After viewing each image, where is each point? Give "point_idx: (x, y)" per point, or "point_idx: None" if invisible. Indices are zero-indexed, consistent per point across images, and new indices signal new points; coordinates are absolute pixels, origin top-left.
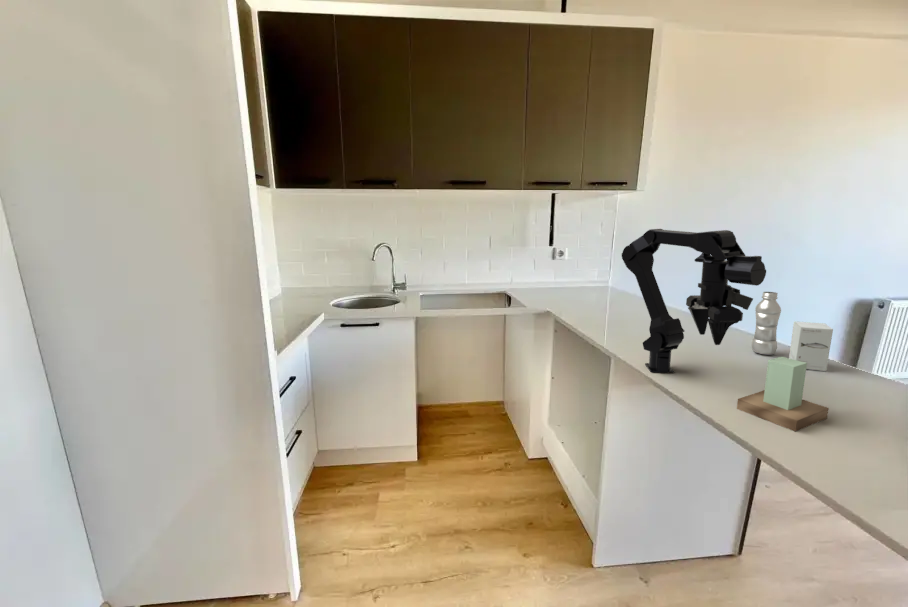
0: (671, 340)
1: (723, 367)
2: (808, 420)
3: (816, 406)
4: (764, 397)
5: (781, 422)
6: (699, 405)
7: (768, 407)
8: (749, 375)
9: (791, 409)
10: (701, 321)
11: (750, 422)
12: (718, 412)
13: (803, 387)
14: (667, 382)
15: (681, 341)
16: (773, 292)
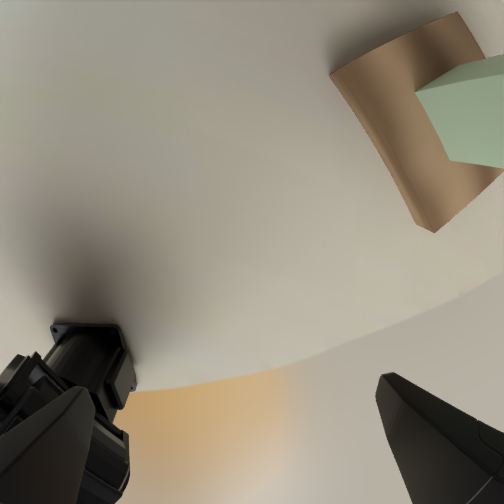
0: (108, 453)
1: (25, 126)
2: None
3: (456, 31)
4: (461, 160)
5: None
6: (390, 318)
7: (481, 172)
8: (96, 52)
9: None
10: (51, 493)
11: (476, 225)
12: (430, 282)
13: (498, 55)
14: (216, 365)
15: (47, 386)
16: None
